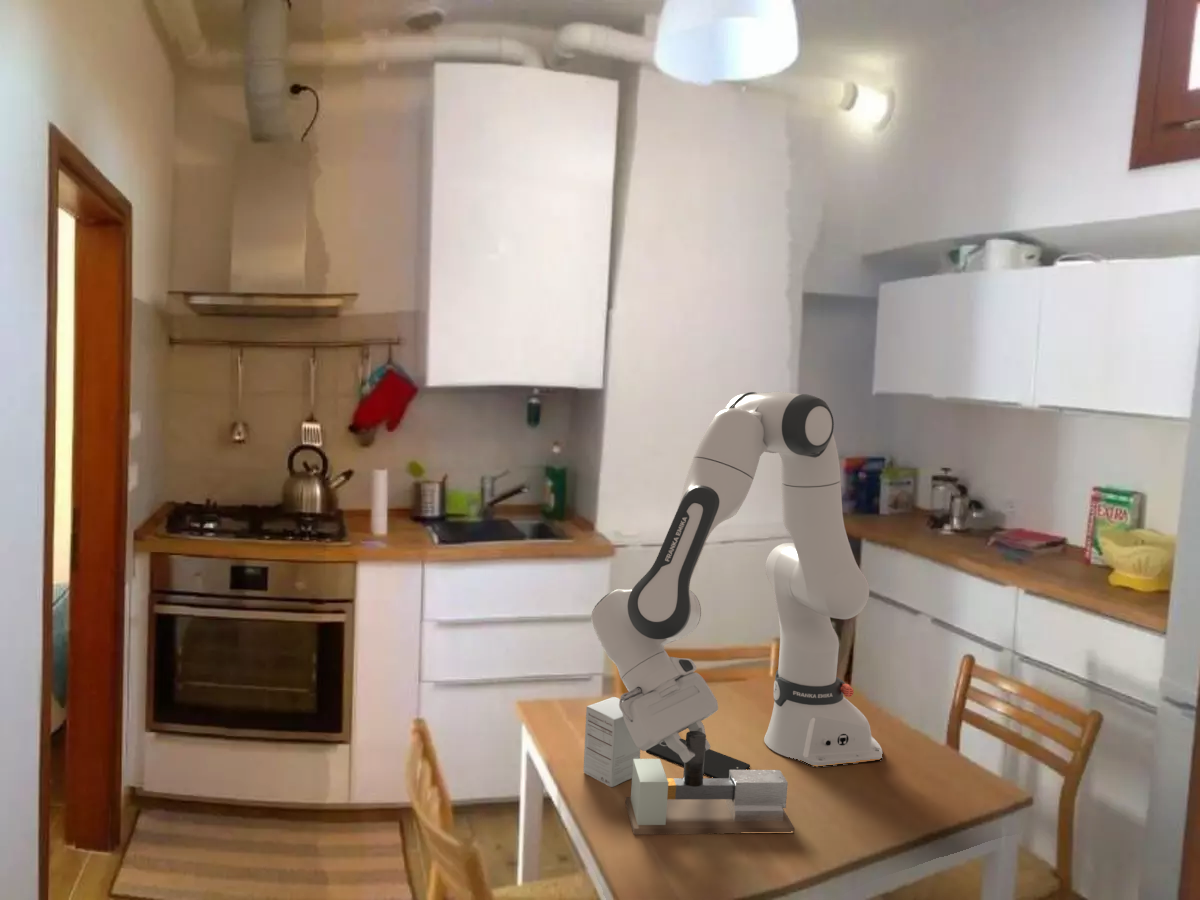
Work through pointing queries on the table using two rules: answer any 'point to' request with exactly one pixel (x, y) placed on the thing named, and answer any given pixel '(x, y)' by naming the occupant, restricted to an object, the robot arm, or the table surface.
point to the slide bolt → (698, 776)
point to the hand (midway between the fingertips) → (698, 755)
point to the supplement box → (608, 744)
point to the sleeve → (758, 795)
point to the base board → (704, 819)
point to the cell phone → (713, 760)
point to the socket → (649, 792)
